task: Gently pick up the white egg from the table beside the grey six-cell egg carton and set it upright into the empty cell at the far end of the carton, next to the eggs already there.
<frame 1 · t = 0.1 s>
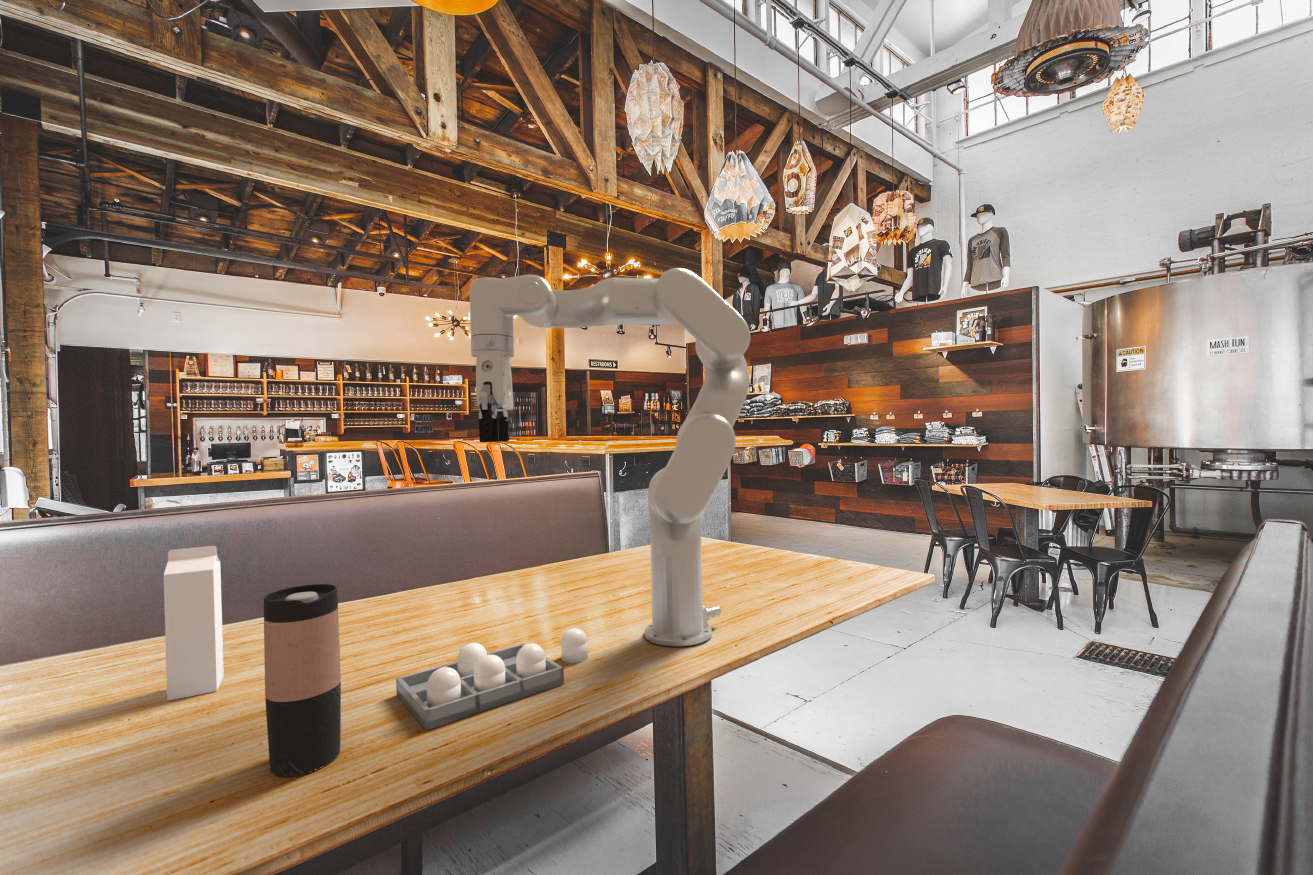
hand: (495, 441, 103), 37 cm above the table, tool pointing down, fingers open, 9 cm apart
travel mug: (306, 761, 68), on the table
egg: (574, 658, 97), on the table
carton: (481, 689, 85), on the table
milk: (196, 690, 88), on the table
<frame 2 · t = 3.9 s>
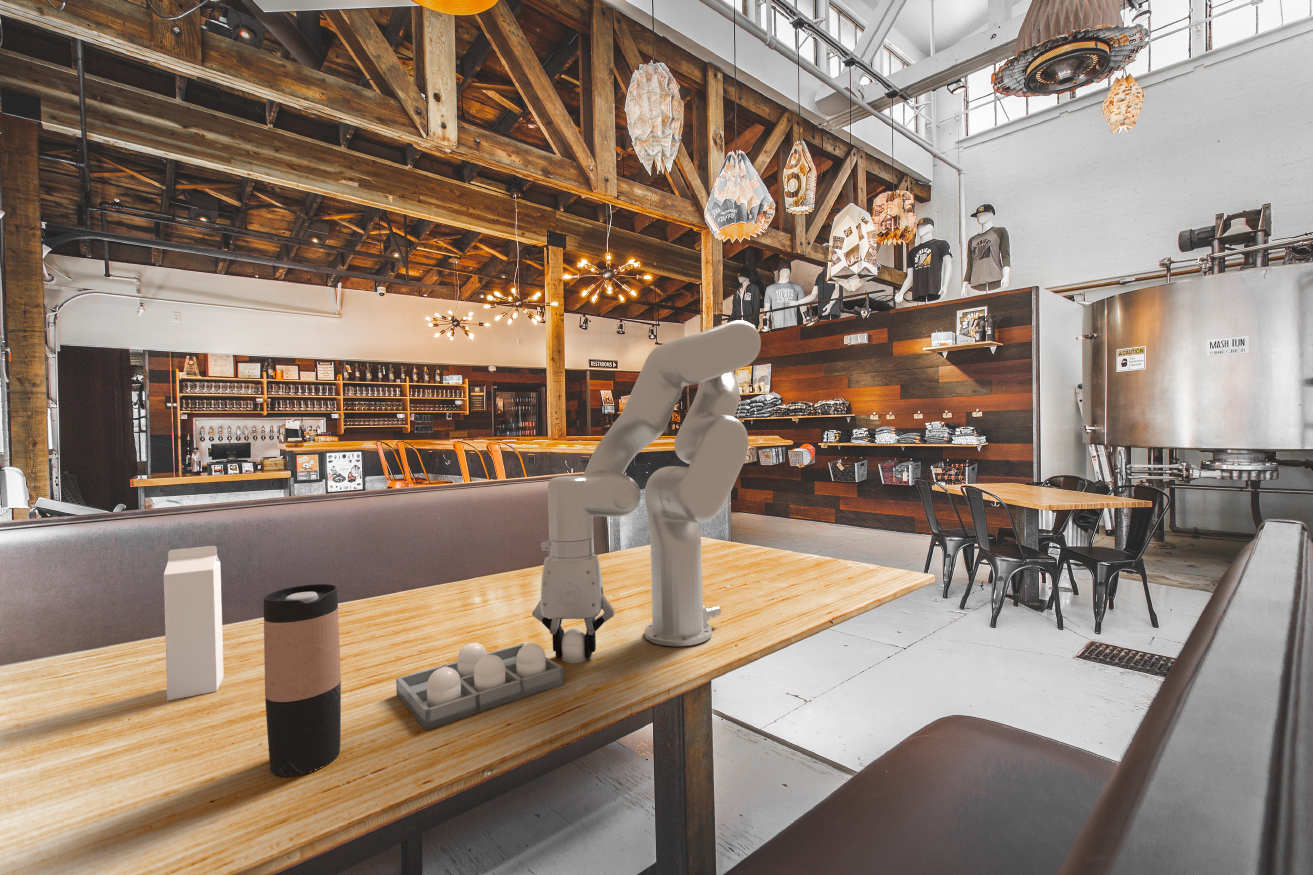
hand: (574, 654, 97), 1 cm above the table, tool pointing down, fingers closed on egg, 4 cm apart
egg: (574, 657, 97), on the table, touching gripper
everything else where it was.
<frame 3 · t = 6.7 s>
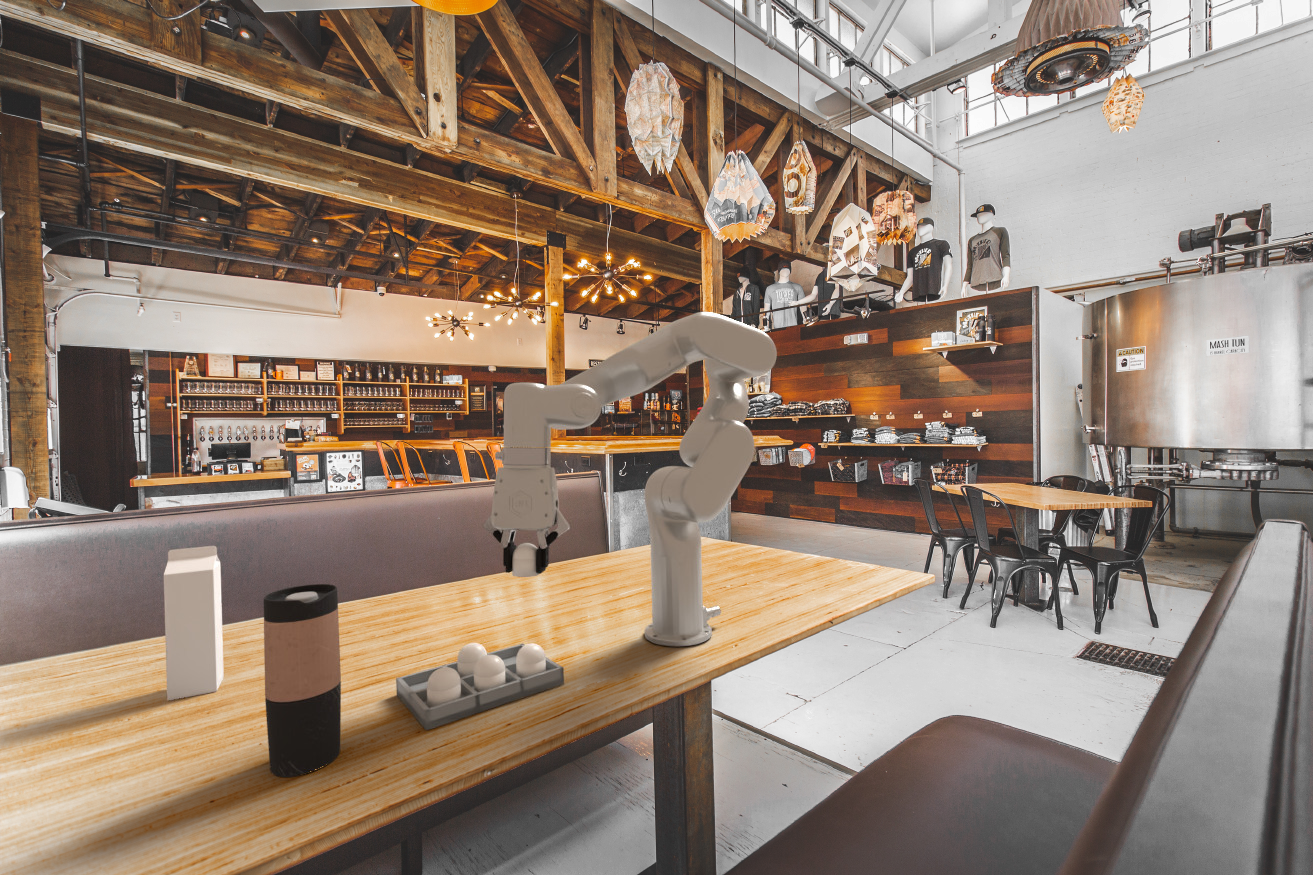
hand: (526, 570, 92), 16 cm above the table, tool pointing down, fingers closed on egg, 4 cm apart
egg: (526, 573, 92), point 16 cm above the table, touching gripper
everything else where it was.
when the fingers open (3 cm above the table, at t = 9.7 s): egg drops 1 cm, resting on carton.
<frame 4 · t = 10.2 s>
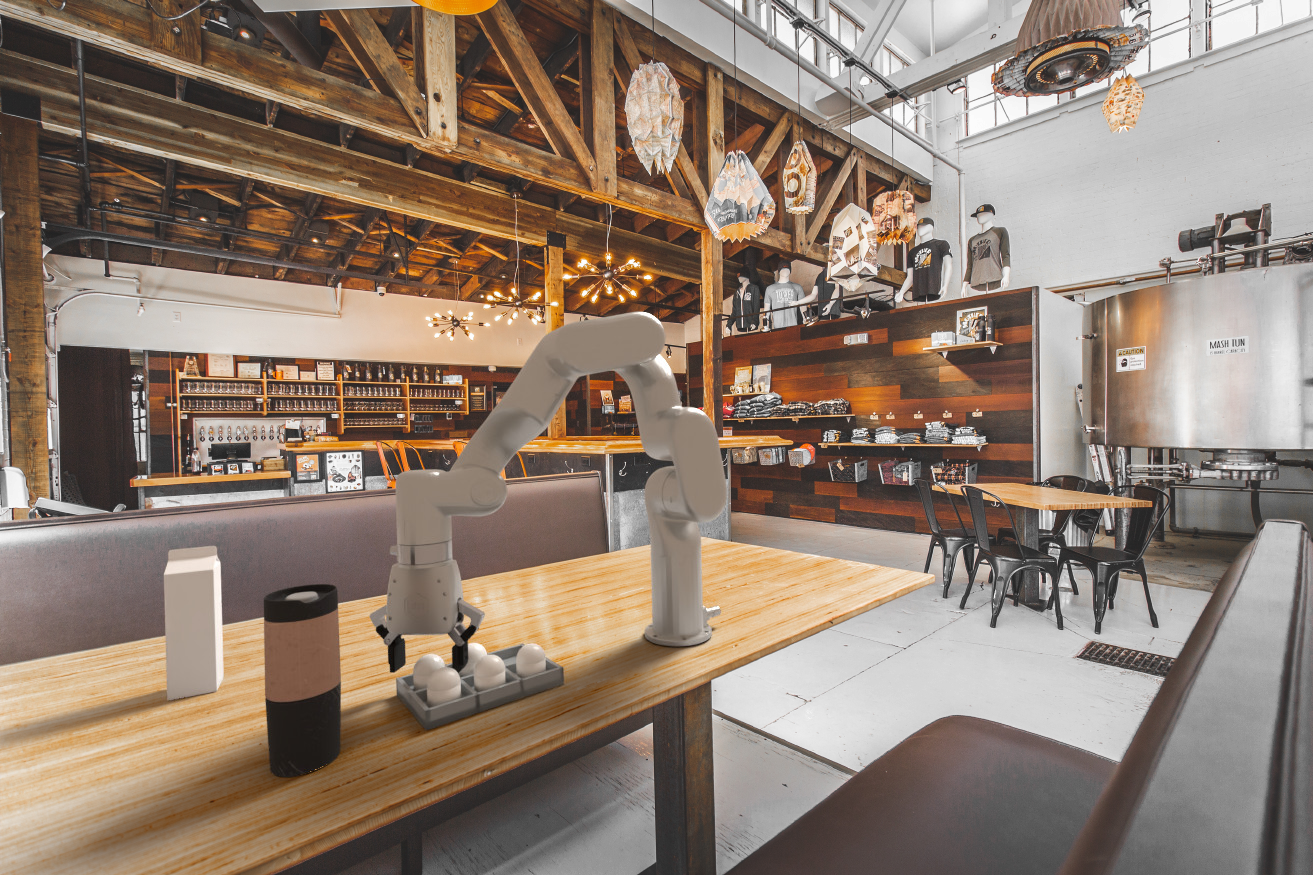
hand: (428, 669, 84), 4 cm above the table, tool pointing down, fingers open, 9 cm apart
egg: (429, 688, 84), point 1 cm above the table, touching carton
everything else where it was.
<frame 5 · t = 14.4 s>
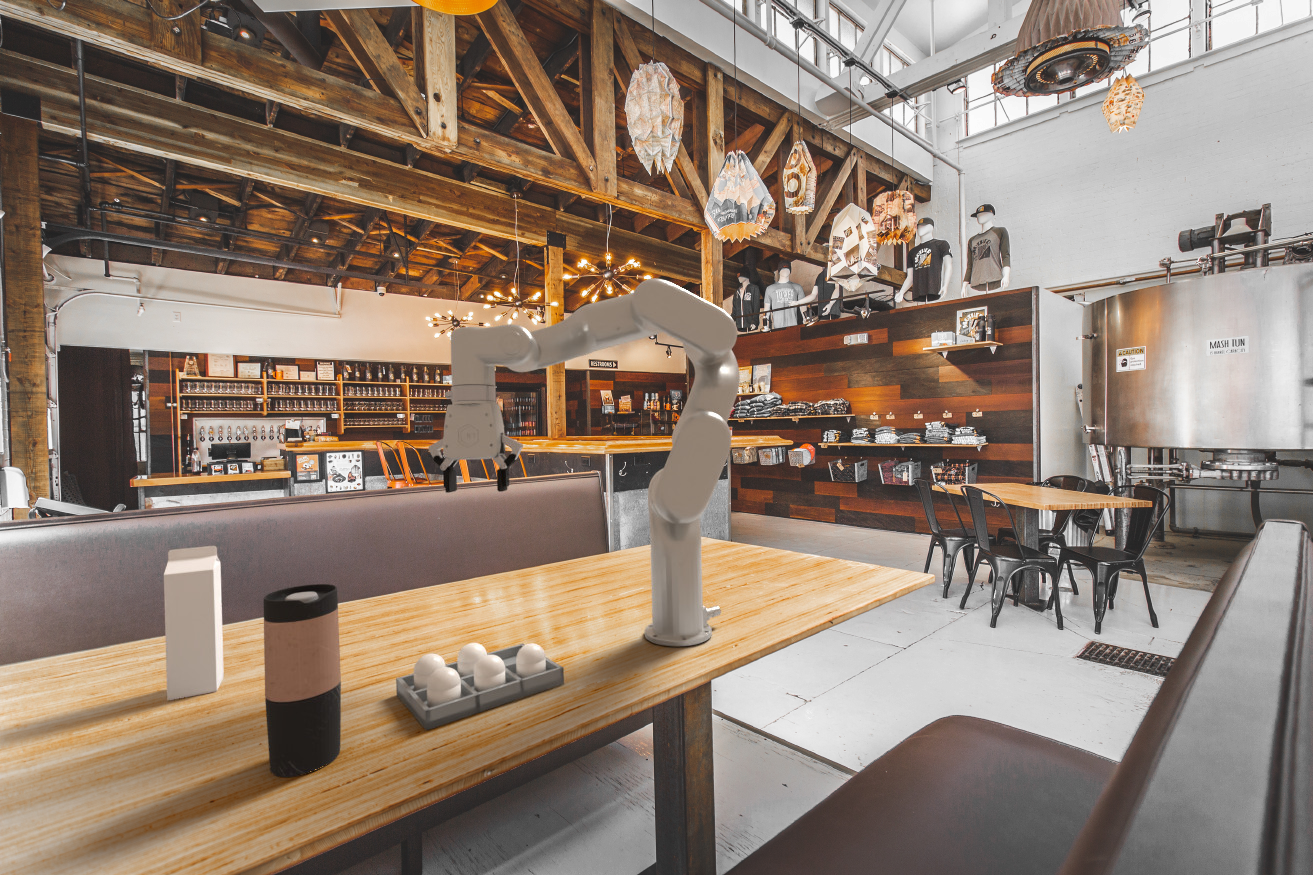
hand: (476, 491, 103), 28 cm above the table, tool pointing down, fingers open, 9 cm apart
nothing on the table moved.
at the end: egg 0.1 cm from the target spot on the carton, point 1.1 cm above the carton's base; egg tilted 2°; the gripper is holding nothing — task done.
